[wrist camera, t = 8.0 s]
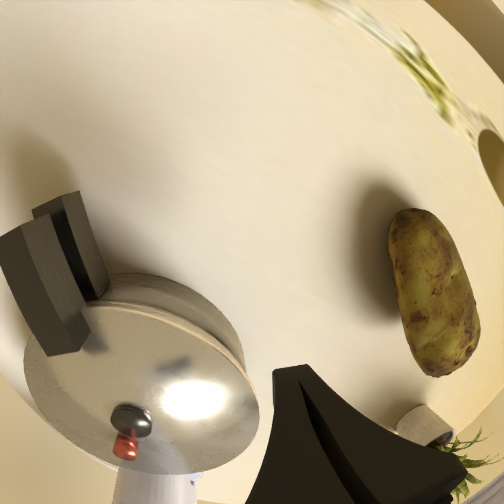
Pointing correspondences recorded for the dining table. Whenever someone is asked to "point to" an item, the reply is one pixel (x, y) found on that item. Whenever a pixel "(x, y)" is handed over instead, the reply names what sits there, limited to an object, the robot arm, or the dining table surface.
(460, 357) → the potato
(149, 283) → the pot
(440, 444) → the house plant
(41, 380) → the lid
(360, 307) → the dining table surface
